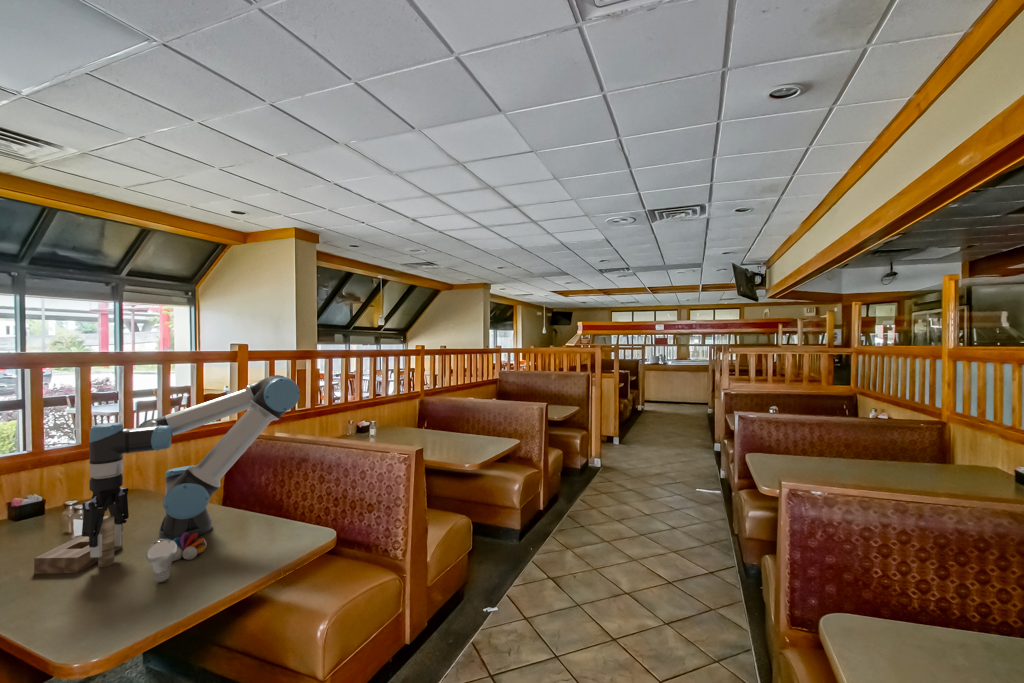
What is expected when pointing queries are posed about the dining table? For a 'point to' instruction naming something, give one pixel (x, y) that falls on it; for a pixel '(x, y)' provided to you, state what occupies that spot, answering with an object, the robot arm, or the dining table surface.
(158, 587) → the dining table surface
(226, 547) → the dining table surface
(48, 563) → the board
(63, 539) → the dining table surface
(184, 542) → the rainbow fan toy
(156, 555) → the light bulb
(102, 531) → the dowel
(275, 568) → the dining table surface
